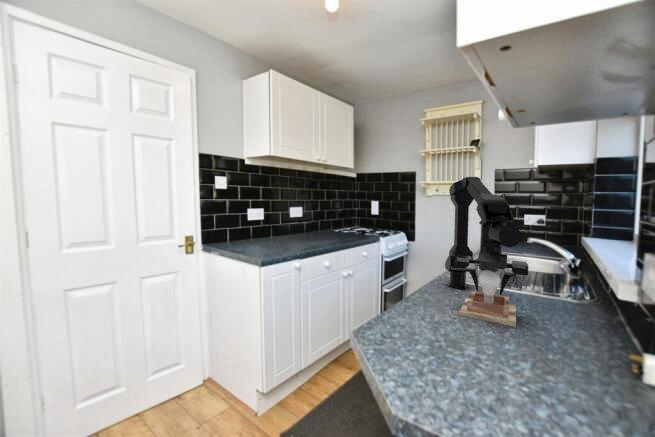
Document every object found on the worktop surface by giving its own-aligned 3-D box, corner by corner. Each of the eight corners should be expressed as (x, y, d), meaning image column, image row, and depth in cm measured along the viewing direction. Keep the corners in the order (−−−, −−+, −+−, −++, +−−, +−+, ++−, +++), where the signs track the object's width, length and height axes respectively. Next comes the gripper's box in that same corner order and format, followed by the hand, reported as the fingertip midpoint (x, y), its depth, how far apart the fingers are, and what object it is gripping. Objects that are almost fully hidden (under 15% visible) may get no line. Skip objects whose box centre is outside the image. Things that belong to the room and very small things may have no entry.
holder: (465, 301, 99) (466, 288, 98) (515, 309, 91) (516, 296, 91) (459, 315, 87) (459, 301, 87) (515, 326, 79) (516, 311, 79)
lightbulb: (496, 301, 91) (498, 266, 90) (503, 309, 85) (505, 271, 84) (474, 299, 93) (475, 265, 92) (479, 307, 87) (481, 270, 86)
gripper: (452, 242, 86) (450, 294, 87) (530, 248, 76) (527, 307, 77) (458, 237, 95) (457, 284, 96) (528, 242, 85) (525, 295, 86)
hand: (488, 292), depth 89 cm, fingers closed on lightbulb, 6 cm apart
